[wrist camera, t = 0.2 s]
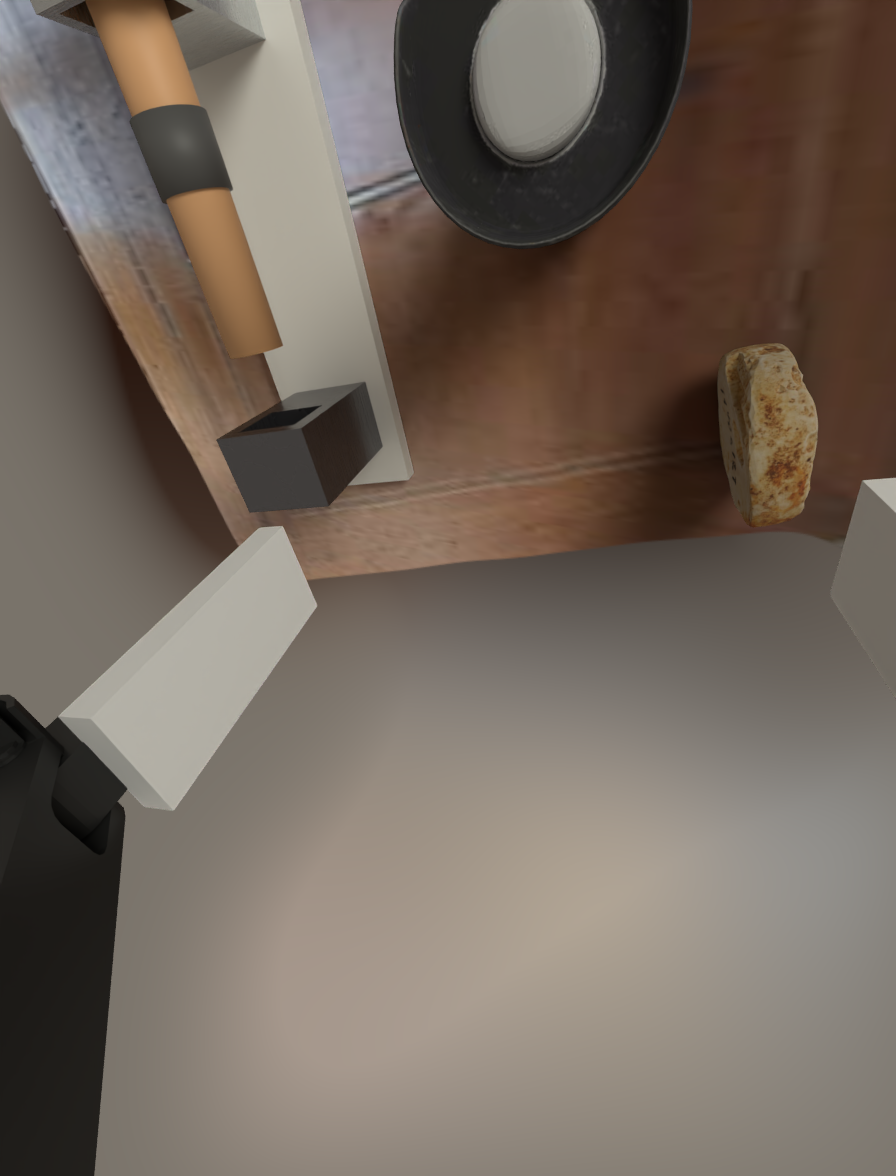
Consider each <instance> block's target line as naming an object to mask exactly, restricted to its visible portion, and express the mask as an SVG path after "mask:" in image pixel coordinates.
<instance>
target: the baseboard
mask: <svg viewBox="0 0 896 1176" xmlns="http://www.w3.org/2000/svg"><path fill="white" fill-rule="evenodd" d="M255 2H256V5H257V9H258V12H259V16H260V20H261V23H262V27H263V31H264V34H265V38H266V40H263V41H261V42H259V43H256V44H254V45H251V46H249V47H246V48H244V49H242V50H239V51H237V52H234V53H232V54H229V55H227V56H225V57H222V58H220V59H217V60H215V61H212V62H210V63H207V64H205V65H203V66H200V67H198V68H195V69H193V70H190V71H189V70H188V71H189V74H190V77H191V80H192V82H193V85H194V88H195V91H196V94H197V97H198V100H199V103H200V106H201V107H203V108H205V109H206V111H207V113H208V116H209V119H210V122H211V125H212V128H213V131H214V134H215V137H216V140H217V143H218V145H219V148H220V151H221V154H222V157H223V160H224V163H225V166H226V169H227V172H228V175H229V178H230V181H231V184H232V187H233V190H232V191H231V192H230V193H231V196H232V198H233V201H234V204H235V207H236V210H237V213H238V216H239V219H240V222H241V225H242V227H243V230H244V233H245V236H246V239H247V242H248V245H249V248H250V251H251V254H252V256H253V259H254V262H255V265H256V268H257V271H258V274H259V277H260V280H261V282H262V285H263V288H264V291H265V294H266V297H267V300H268V303H269V306H270V309H271V311H272V314H273V317H274V320H275V323H276V326H277V329H278V332H279V335H280V338H281V340H282V343H283V346H281V347H279V348H276V349H274V350H270V351H267V352H263V353H264V355H265V358H266V361H267V363H268V366H269V369H270V372H271V374H272V377H273V380H274V382H275V385H276V388H277V391H278V393H279V396H280V399H281V401H283V400H284V399H286V398H288V397H289V396H291V395H293V394H295V393H298V392H304V391H310V390H316V389H323V388H329V387H335V386H341V385H348V384H354V383H360V382H366V386H367V390H368V394H369V397H370V401H371V405H372V408H373V412H374V416H375V419H376V423H377V427H378V431H379V434H380V438H381V442H382V445H383V447H382V448H381V449H380V450H379V451H378V453H377V454H376V455H375V456H374V457H373V458H372V459H371V460H370V461H369V462H368V464H367V465H366V466H365V467H364V468H363V469H362V470H361V471H360V472H359V473H358V475H357V476H356V477H355V478H354V479H353V480H352V481H351V482H350V483H349V484H348V486H349V485H359V484H370V483H381V482H391V481H402V480H409V479H410V478H411V476H412V475H413V473H414V470H413V466H412V462H411V458H410V454H409V450H408V446H407V441H406V437H405V433H404V429H403V425H402V421H401V417H400V412H399V408H398V404H397V400H396V396H395V392H394V388H393V383H392V379H391V375H390V371H389V367H388V363H387V359H386V354H385V350H384V346H383V342H382V338H381V334H380V329H379V325H378V321H377V317H376V313H375V309H374V305H373V300H372V296H371V292H370V288H369V284H368V280H367V276H366V271H365V267H364V263H363V259H362V255H361V251H360V247H359V242H358V238H357V234H356V230H355V226H354V222H353V218H352V213H351V209H350V205H349V201H348V197H347V193H346V189H345V184H344V180H343V176H342V172H341V168H340V164H339V160H338V155H337V151H336V147H335V143H334V139H333V135H332V131H331V126H330V122H329V118H328V114H327V110H326V106H325V102H324V97H323V93H322V89H321V85H320V81H319V77H318V73H317V68H316V64H315V60H314V56H313V52H312V48H311V44H310V39H309V35H308V31H307V27H306V23H305V19H304V15H303V10H302V6H301V2H300V0H255Z"/></svg>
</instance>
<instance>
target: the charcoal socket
mask: <svg viewBox="0 0 896 1176" xmlns="http://www.w3.org/2000/svg"><path fill="white" fill-rule="evenodd" d="M217 442H218V444H219V447H220V449H221V451H222V453H223V455H224V458H225V460H226V462H227V464H228V466H229V468H230V471H231V473H232V475H233V477H234V479H235V481H236V484H237V486H238V488H239V490H240V492H241V495H242V497H243V499H244V501H245V503H246V505H247V508H248V510H249V512H262V511H275V510H287V509H299V508H312V507H324V506H329V505H330V504H331V503H332V502H333V501H334V500H335V499H336V498H337V497H338V495H339V494H340V493H341V492H342V491H343V490H344V489H345V488H346V487H347V486H348V484H349V483H350V482H351V481H352V480H353V479H354V478H355V477H356V476H357V475H358V473H359V472H360V471H361V470H362V469H363V468H364V467H365V466H366V465H367V464H368V462H369V461H370V460H371V459H372V458H373V457H374V456H375V455H376V454H377V453H378V451H379V450H380V449H381V448H382V447H383V445H382V442H381V438H380V434H379V431H378V427H377V423H376V419H375V416H374V412H373V408H372V405H371V401H370V397H369V394H368V390H367V386H366V382H360V383H354V384H348V385H341V386H335V387H329V388H323V389H316V390H310V391H304V392H298V393H295V394H293V395H291V396H289V397H288V398H286V399H284V400H283V401H281V402H279V403H278V404H276V405H274V406H273V407H271V408H269V409H268V410H266V411H264V412H262V413H261V414H259V415H257V416H256V417H254V418H252V419H251V420H249V421H247V422H246V423H244V424H242V425H241V426H239V427H237V428H235V429H234V430H232V431H230V432H229V433H227V434H225V435H224V436H222V437H220V438H219V439H217Z"/></svg>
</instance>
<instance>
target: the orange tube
mask: <svg viewBox="0 0 896 1176" xmlns="http://www.w3.org/2000/svg"><path fill="white" fill-rule="evenodd" d="M85 2H86V4H87V7H88V9H89V12H90V14H91V17H92V19H93V22H94V24H95V27H96V29H97V31H98V34H99V36H100V39H101V41H102V44H103V46H104V49H105V51H106V54H107V56H108V59H109V61H110V64H111V66H112V68H113V71H114V73H115V76H116V78H117V81H118V83H119V86H120V88H121V91H122V93H123V96H124V98H125V100H126V103H127V105H128V108H129V110H130V113H131V115H132V118H131V120H130V124H131V127H132V129H133V132H134V134H135V137H136V139H137V141H138V144H139V146H140V149H141V151H142V154H143V156H144V159H145V161H146V163H147V166H148V168H149V171H150V173H151V176H152V178H153V181H154V183H155V185H156V188H157V190H158V193H159V195H160V198H161V200H162V202H163V203H165V204H168V207H169V209H170V211H171V214H172V216H173V219H174V221H175V224H176V226H177V229H178V231H179V234H180V236H181V239H182V241H183V244H184V246H185V248H186V251H187V253H188V256H189V258H190V261H191V263H192V266H193V268H194V271H195V273H196V276H197V278H198V281H199V283H200V285H201V288H202V290H203V293H204V295H205V298H206V300H207V303H208V305H209V308H210V310H211V313H212V315H213V318H214V320H215V322H216V325H217V327H218V330H219V332H220V335H221V337H222V340H223V342H224V345H225V347H226V350H227V352H228V355H229V357H230V359H237V358H242V357H247V356H252V355H256V354H260V353H263V352H267V351H270V350H274V349H276V348H279V347H281V346H283V343H282V340H281V338H280V335H279V332H278V329H277V326H276V323H275V320H274V317H273V314H272V311H271V309H270V306H269V303H268V300H267V297H266V294H265V291H264V288H263V285H262V282H261V280H260V277H259V274H258V271H257V268H256V265H255V262H254V259H253V256H252V254H251V251H250V248H249V245H248V242H247V239H246V236H245V233H244V230H243V227H242V225H241V222H240V219H239V216H238V213H237V210H236V207H235V204H234V201H233V198H232V196H231V193H230V192H231V191H232V190H233V187H232V184H231V181H230V178H229V175H228V172H227V169H226V166H225V163H224V160H223V157H222V154H221V151H220V148H219V145H218V143H217V140H216V137H215V134H214V131H213V128H212V125H211V122H210V119H209V116H208V113H207V111H206V109H205V108H203V107H201V106H200V103H199V100H198V97H197V94H196V91H195V88H194V85H193V82H192V80H191V77H190V74H189V71H188V68H187V65H186V62H185V59H184V56H183V54H182V51H181V48H180V45H179V42H178V39H177V36H176V33H175V30H174V27H173V25H172V22H171V19H170V16H169V13H168V10H167V7H166V4H165V1H164V0H86V1H85Z"/></svg>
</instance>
